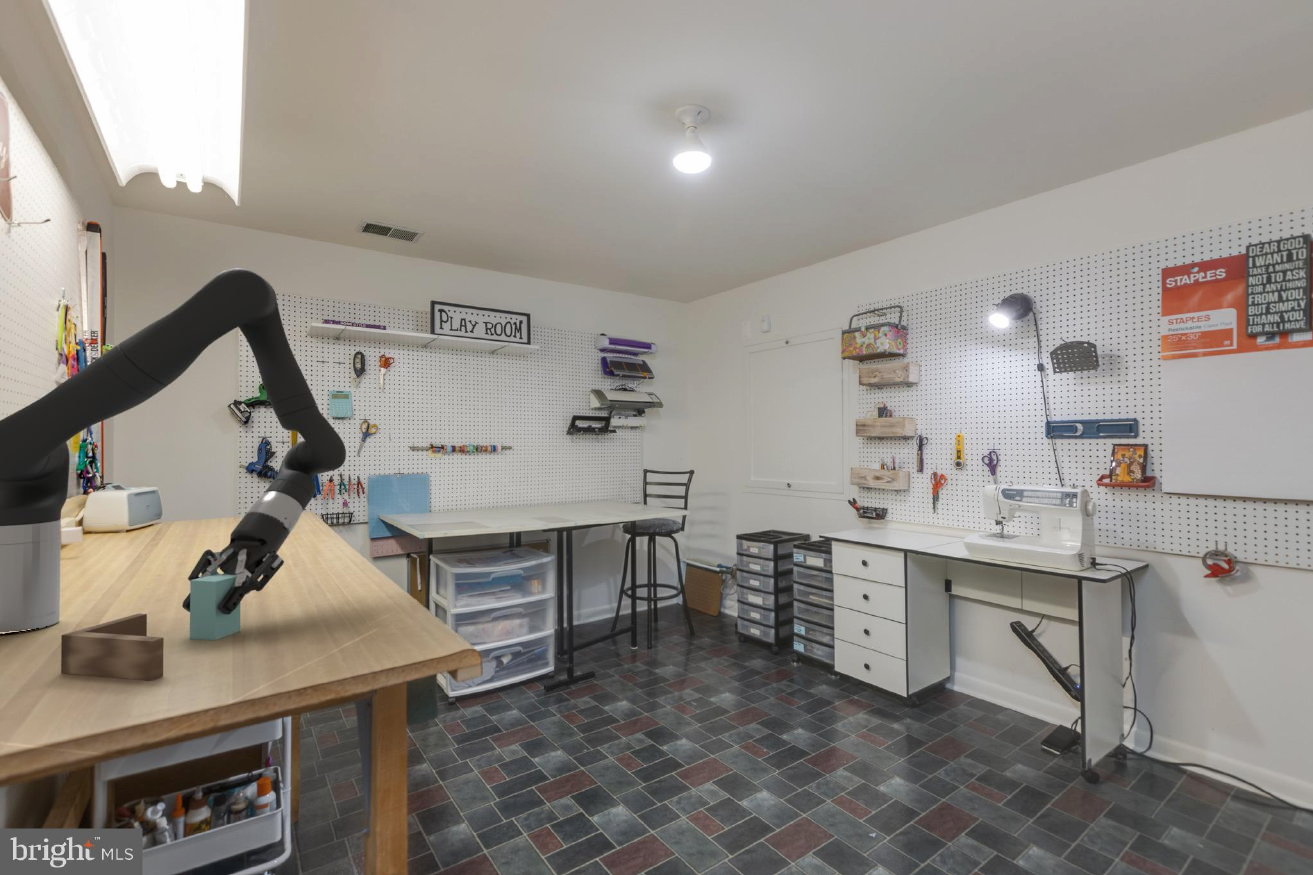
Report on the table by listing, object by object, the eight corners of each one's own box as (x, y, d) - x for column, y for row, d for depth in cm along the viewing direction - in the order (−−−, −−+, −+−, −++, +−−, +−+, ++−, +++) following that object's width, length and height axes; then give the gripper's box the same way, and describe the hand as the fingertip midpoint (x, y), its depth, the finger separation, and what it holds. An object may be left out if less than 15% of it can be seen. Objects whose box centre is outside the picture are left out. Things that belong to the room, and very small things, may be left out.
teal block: (189, 638, 91) (190, 580, 91) (215, 629, 95) (216, 573, 95) (214, 640, 90) (215, 581, 90) (240, 630, 95) (240, 575, 95)
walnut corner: (61, 672, 77) (61, 634, 77) (137, 647, 87) (138, 613, 87) (151, 680, 75) (151, 641, 75) (220, 653, 85) (220, 618, 85)
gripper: (219, 509, 101) (148, 596, 90) (293, 511, 99) (230, 600, 87) (245, 535, 107) (181, 620, 95) (316, 537, 104) (259, 625, 92)
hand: (205, 610), depth 91 cm, fingers open, 5 cm apart
